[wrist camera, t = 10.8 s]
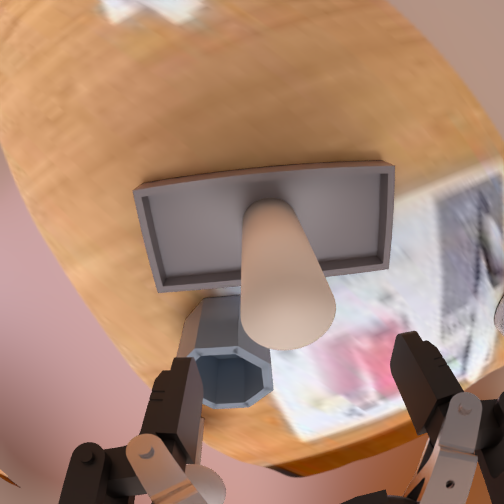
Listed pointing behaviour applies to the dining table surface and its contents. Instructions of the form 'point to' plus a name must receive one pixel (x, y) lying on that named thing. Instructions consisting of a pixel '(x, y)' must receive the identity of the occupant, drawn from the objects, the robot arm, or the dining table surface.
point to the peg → (281, 280)
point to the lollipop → (205, 476)
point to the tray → (251, 190)
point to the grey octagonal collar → (225, 354)
